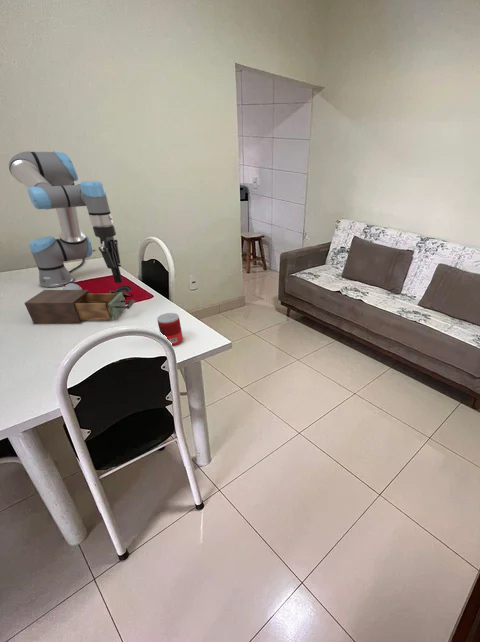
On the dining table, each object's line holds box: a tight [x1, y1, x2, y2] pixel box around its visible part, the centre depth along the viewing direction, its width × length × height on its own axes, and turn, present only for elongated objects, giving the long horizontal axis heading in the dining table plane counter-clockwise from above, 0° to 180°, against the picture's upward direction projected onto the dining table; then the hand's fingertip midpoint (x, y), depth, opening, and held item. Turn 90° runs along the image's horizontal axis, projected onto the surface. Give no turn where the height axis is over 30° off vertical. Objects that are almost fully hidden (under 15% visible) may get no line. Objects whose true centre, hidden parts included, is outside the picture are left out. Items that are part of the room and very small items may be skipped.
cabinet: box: [24, 289, 91, 325], centre depth 143 cm, size 19×14×10 cm
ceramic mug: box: [62, 282, 83, 290], centre depth 158 cm, size 11×8×8 cm
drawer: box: [74, 292, 136, 322], centre depth 144 cm, size 24×13×8 cm, turn 95°
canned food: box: [156, 312, 184, 347], centre depth 127 cm, size 8×8×11 cm
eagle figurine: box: [108, 285, 133, 301], centre depth 162 cm, size 8×7×9 cm
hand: (118, 282), depth 141 cm, fingers closed
